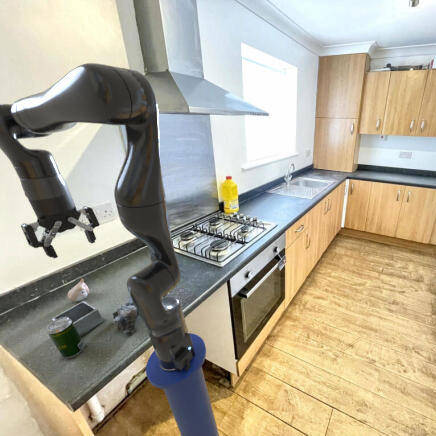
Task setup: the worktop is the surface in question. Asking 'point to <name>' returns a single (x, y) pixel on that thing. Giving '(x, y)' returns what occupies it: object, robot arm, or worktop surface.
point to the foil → (125, 317)
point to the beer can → (65, 337)
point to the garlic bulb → (78, 291)
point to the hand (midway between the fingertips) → (74, 249)
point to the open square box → (82, 317)
